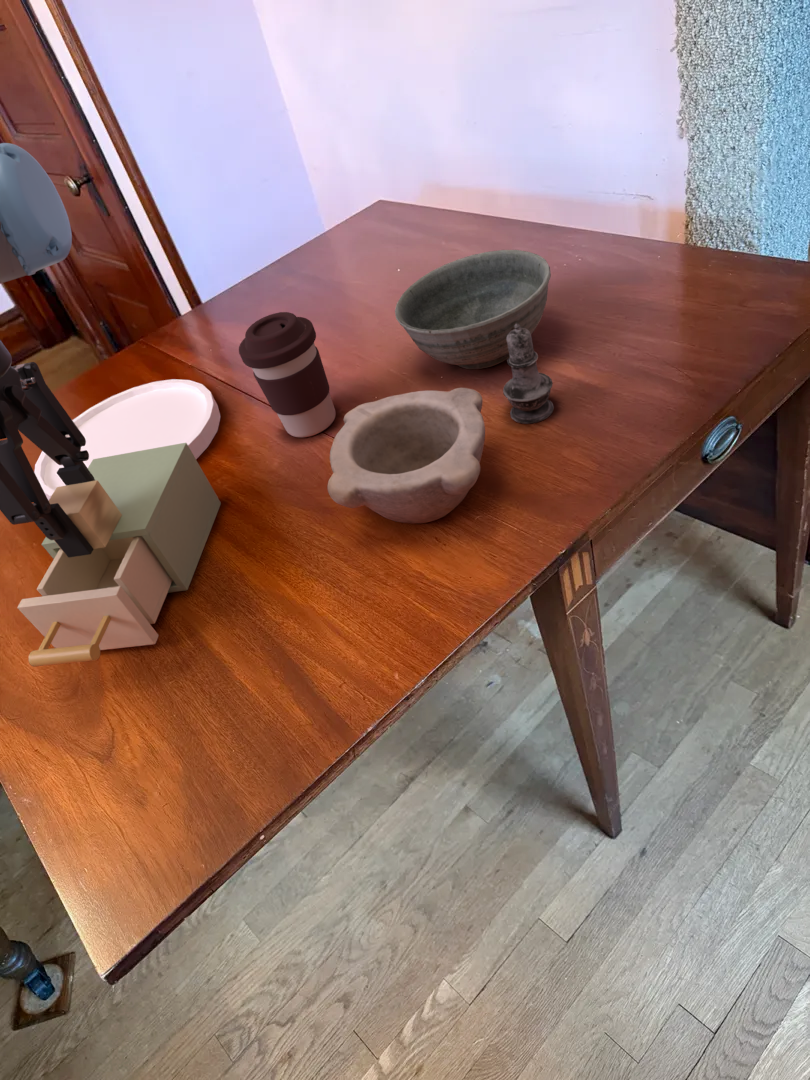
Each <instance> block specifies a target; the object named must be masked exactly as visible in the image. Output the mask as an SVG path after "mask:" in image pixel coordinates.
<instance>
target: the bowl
mask: <svg viewBox="0 0 810 1080" xmlns="http://www.w3.org/2000/svg"><path fill="white" fill-rule="evenodd" d="M551 275H552V273H551V266H550V265H549V264H548V261H547V260H546V259H545V258H544V257H542V256H541V255H539V254H537V253H534V252H530V251H527V250H520V249H499V250H492V251H491V250H490V251H485V252H480V253H475V254H471V255H467V256H464V257H462V258H458V259H455V260H453V261H450V262H448V263H446V264H443V265H441V266H439V267H436V268H435V269H432V270H431V271H429V272H428V273H426V274H425V275H423V276H421V277H420V278H418V279H417V280H416V281H414V282H413V283H412V284H411V285H409V287H408V288H407V289H406V290H405V291H404V292H403V293H402V294H401V296H400V297H399V299H398V301H397V302H396V305H395V309H394V314H395V320H396V321H397V322H398V324H399V325H400V326H401V327H402V328H403V329H404V331H405V332H406V333H407V335H408V336H409V337H410V339H411V340H412V341H413V343H415V345H416V346H417V348H418V349H419V350H420V351H422V352H423V353H425V354H427V355H428V356H430V357H431V358H432V359H434V360H436V361H439V362H441V363H445V364H449V365H456V366H459V368H463V369H467V370H482V369H486V368H490V367H493V366H496V365H499V364H501V363H503V362H504V361H507V360H508V358H509V357H510V355H509V350H508V345H507V335H508V334H509V332H510V331H512V330H513V329H515V328H514V326H515V324H516V323H517V324H518V325H520V327H519V328H525V329H527V330H529V332H530V333H531V335H532V334H534V332H535V330H536V328H537V327H538V325H539V324H540V322H541V320H542V318H543V314H544V311H545V308H546V305H547V301H548V293H549V283H550V280H551Z"/></svg>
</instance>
